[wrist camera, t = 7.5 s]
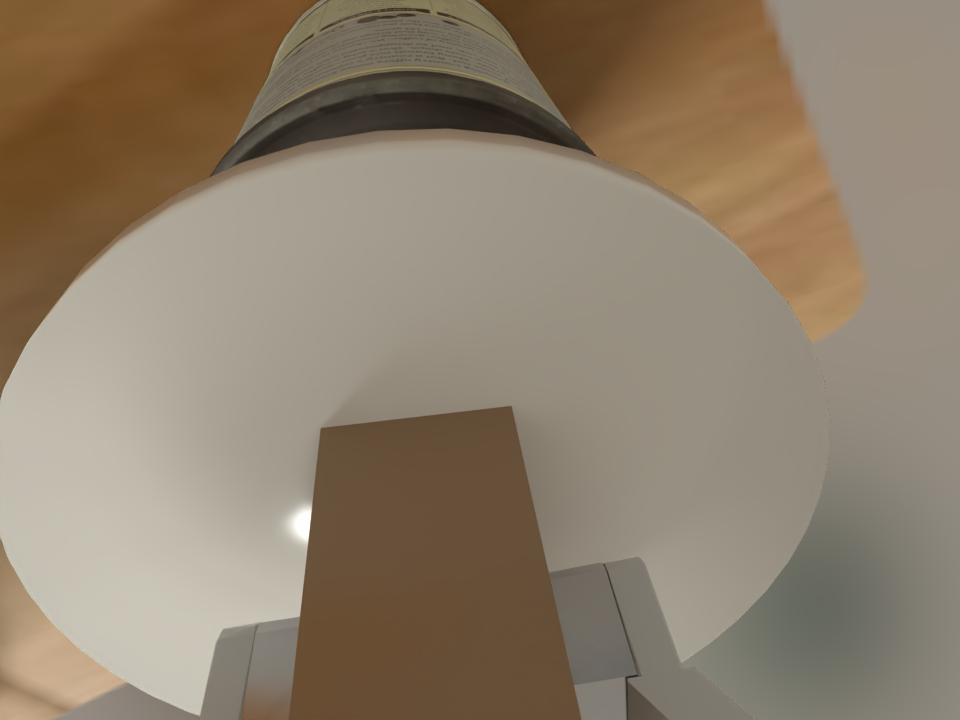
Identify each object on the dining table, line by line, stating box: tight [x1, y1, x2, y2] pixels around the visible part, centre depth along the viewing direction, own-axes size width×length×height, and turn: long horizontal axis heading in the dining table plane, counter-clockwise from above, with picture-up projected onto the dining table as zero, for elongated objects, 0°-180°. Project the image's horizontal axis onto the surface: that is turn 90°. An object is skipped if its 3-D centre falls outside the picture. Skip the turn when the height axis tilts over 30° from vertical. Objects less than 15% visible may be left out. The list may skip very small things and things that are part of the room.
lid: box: [0, 129, 830, 720], centre depth 9 cm, size 12×12×5 cm
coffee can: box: [210, 0, 597, 177], centre depth 22 cm, size 10×10×14 cm
